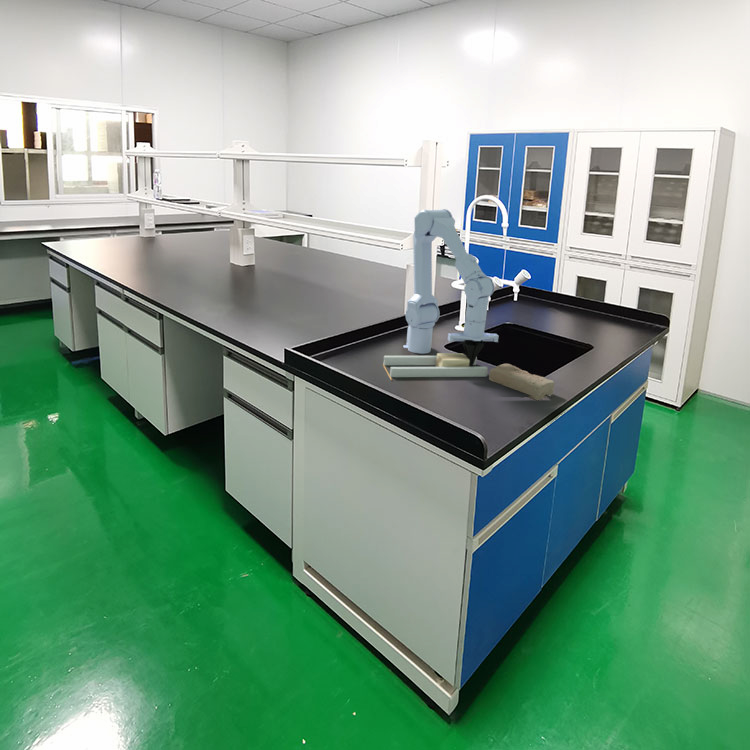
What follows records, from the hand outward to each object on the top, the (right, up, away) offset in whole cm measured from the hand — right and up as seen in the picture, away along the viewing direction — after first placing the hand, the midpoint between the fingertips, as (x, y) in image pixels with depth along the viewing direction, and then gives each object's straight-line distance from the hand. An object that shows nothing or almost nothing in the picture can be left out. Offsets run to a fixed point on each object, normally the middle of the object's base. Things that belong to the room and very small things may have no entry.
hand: (469, 364), depth 175 cm
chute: (-11, -2, -1) cm, 11 cm away
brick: (+13, -7, -8) cm, 17 cm away
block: (-5, -1, 0) cm, 6 cm away
